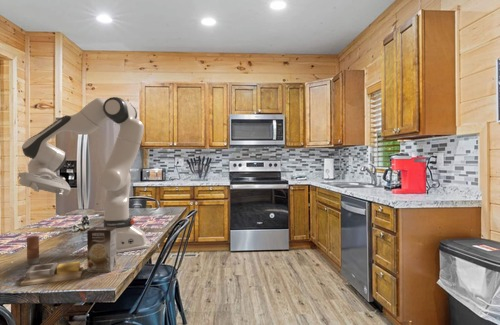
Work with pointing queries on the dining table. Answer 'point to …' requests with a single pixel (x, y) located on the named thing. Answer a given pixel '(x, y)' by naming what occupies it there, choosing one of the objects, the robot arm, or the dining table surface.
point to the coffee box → (101, 249)
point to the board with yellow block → (52, 273)
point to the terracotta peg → (32, 251)
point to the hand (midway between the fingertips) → (49, 192)
